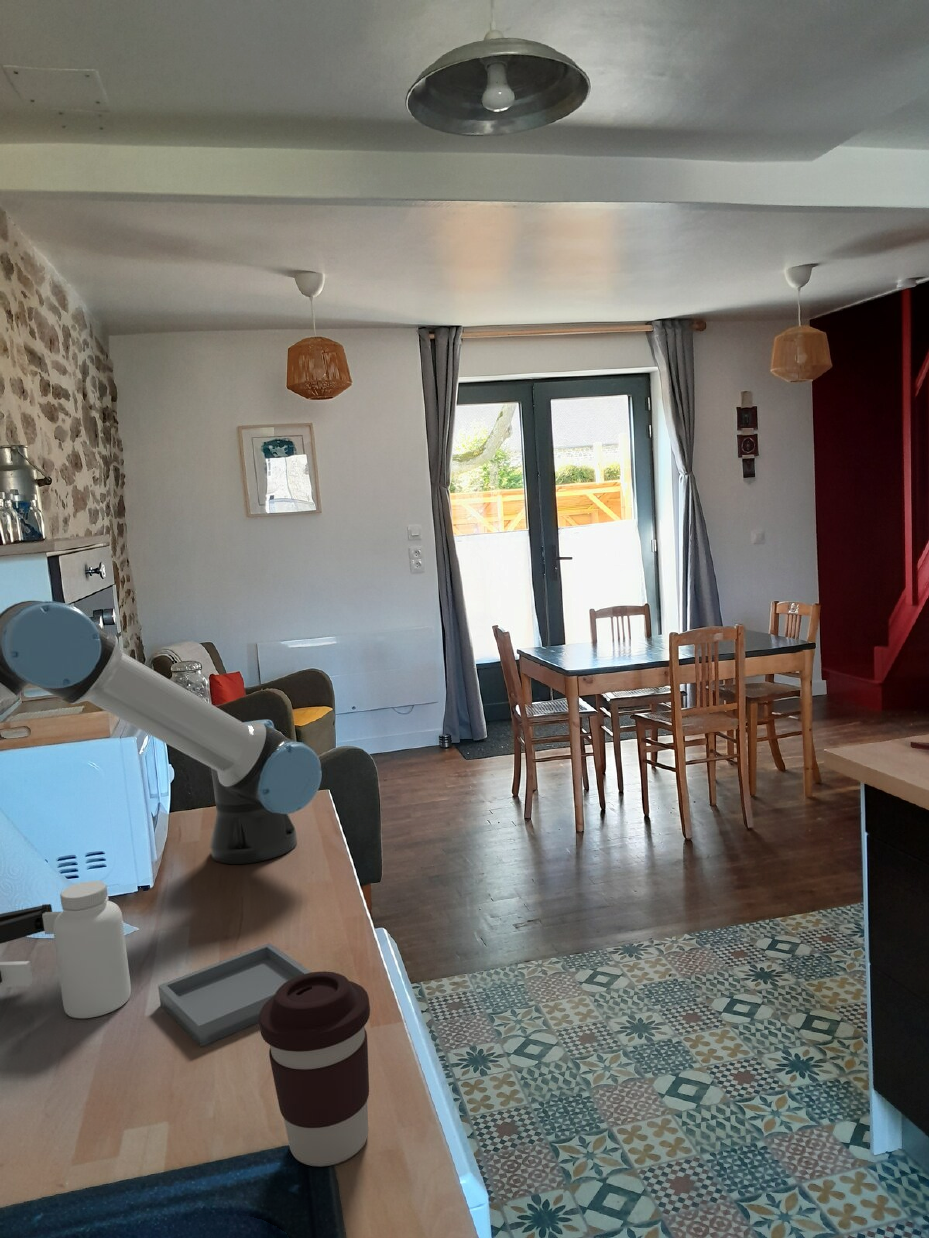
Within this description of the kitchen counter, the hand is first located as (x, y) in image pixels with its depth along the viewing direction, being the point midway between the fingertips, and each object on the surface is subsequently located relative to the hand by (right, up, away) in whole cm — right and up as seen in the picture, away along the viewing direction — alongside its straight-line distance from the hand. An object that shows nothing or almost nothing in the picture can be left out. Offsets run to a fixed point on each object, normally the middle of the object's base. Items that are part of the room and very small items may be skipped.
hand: (62, 946), depth 115 cm
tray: (+22, -6, -2) cm, 23 cm away
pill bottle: (+4, -8, +1) cm, 9 cm away
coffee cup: (+37, -8, -29) cm, 48 cm away
